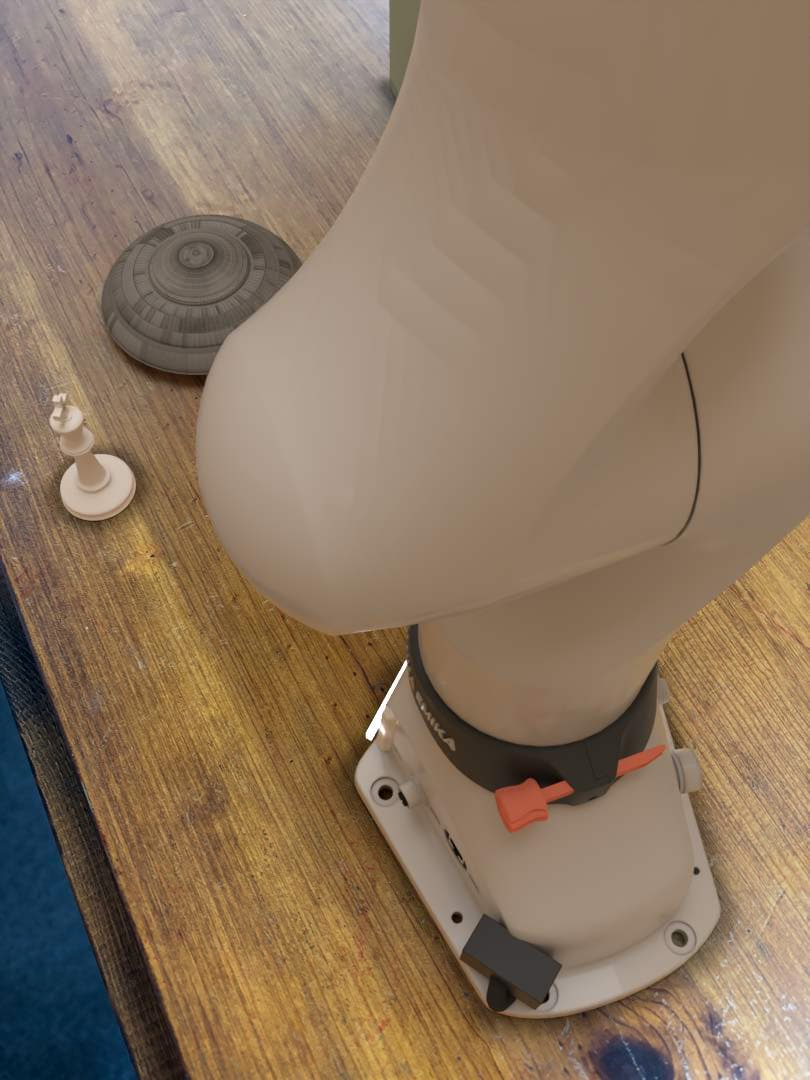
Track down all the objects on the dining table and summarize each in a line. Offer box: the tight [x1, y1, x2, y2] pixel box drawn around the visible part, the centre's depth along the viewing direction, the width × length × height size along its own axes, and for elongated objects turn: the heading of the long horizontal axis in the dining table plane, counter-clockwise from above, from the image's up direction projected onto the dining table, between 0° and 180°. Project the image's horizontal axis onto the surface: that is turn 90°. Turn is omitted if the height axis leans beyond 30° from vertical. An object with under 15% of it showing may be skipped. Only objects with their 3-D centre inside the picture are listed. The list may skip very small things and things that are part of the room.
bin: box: [388, 0, 421, 101], centre depth 84 cm, size 9×12×9 cm
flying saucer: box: [100, 214, 303, 376], centre depth 76 cm, size 15×15×6 cm
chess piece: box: [48, 392, 137, 522], centre depth 66 cm, size 5×5×10 cm
